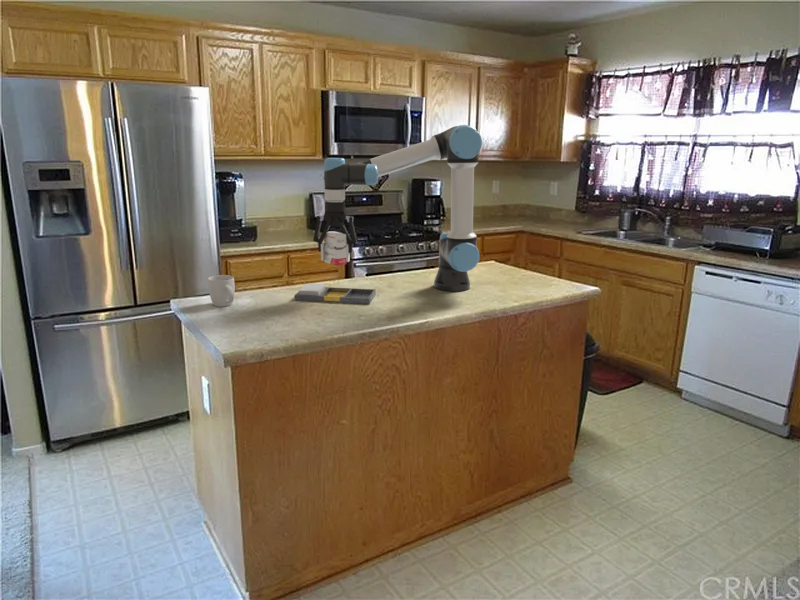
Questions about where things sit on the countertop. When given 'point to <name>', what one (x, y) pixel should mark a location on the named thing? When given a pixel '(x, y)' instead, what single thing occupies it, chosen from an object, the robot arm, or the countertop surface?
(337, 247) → the ink box
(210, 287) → the mug
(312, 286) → the panel
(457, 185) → the robot arm
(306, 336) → the countertop surface
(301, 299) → the rack
